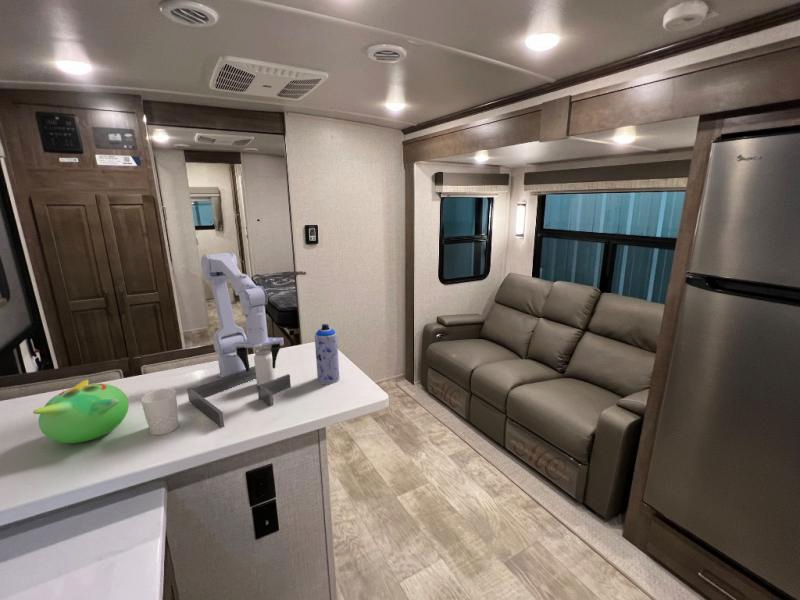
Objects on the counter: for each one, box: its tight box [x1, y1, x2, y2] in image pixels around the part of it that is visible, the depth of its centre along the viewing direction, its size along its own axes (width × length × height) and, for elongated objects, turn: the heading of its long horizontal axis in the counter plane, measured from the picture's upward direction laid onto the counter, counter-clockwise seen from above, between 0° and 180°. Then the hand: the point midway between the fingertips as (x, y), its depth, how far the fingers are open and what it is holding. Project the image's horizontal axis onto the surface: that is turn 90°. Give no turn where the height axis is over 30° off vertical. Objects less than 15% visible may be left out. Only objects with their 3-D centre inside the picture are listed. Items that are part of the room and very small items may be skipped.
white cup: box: [140, 388, 180, 436], centre depth 101 cm, size 8×8×10 cm
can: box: [253, 348, 278, 387], centre depth 125 cm, size 6×6×12 cm
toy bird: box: [32, 379, 129, 444], centre depth 97 cm, size 18×17×15 cm
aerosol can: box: [314, 323, 341, 385], centre depth 128 cm, size 8×8×20 cm
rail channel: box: [186, 365, 292, 429], centre depth 118 cm, size 22×26×4 cm
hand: (261, 368), depth 115 cm, fingers open, 7 cm apart
